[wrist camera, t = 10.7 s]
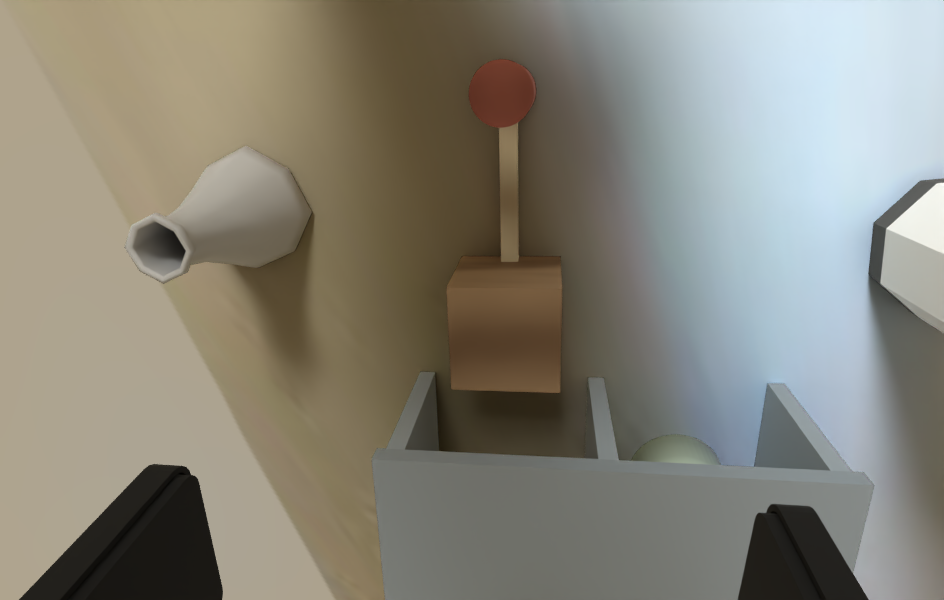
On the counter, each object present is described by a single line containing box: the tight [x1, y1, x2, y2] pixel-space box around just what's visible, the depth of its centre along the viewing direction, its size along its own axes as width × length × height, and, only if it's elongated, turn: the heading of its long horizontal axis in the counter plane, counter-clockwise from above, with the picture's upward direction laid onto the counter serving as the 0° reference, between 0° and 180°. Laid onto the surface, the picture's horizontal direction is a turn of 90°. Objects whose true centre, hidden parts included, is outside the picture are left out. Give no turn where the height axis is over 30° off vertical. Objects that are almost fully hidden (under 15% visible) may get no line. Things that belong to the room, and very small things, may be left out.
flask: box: [125, 146, 312, 284], centre depth 33 cm, size 7×7×10 cm
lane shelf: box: [372, 372, 874, 600], centre depth 36 cm, size 12×24×10 cm, turn 91°
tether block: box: [446, 59, 562, 393], centre depth 33 cm, size 17×6×6 cm, turn 2°
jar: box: [631, 435, 721, 465], centre depth 37 cm, size 6×6×7 cm
